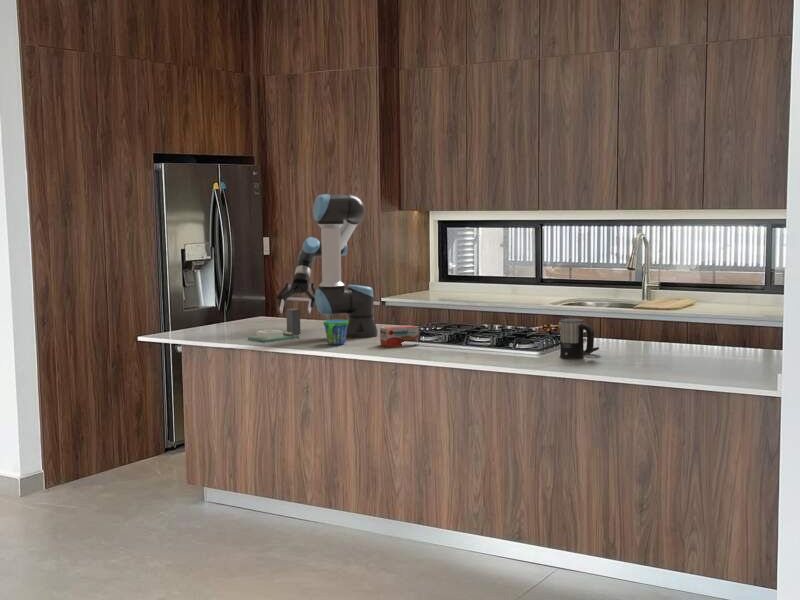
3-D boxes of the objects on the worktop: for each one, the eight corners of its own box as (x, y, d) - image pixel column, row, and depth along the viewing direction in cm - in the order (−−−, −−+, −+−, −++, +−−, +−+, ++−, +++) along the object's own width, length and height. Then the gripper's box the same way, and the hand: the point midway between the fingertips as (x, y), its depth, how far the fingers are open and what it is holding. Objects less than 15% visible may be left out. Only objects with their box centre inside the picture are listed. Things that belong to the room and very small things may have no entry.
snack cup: (339, 347, 407) (339, 323, 406) (317, 346, 411) (316, 322, 410) (354, 342, 421) (354, 319, 420) (333, 341, 425) (332, 318, 424)
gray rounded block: (300, 334, 446) (299, 309, 445) (292, 335, 443) (292, 310, 442) (294, 333, 450) (294, 308, 448) (286, 335, 447) (286, 309, 445)
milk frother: (557, 358, 372) (557, 320, 370) (565, 352, 387) (565, 316, 385) (594, 360, 367) (594, 322, 365) (600, 354, 381) (601, 317, 380)
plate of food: (584, 328, 457) (584, 316, 457) (598, 336, 430) (598, 323, 429) (526, 331, 456) (525, 319, 456) (536, 339, 429) (536, 326, 428)
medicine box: (412, 343, 418) (411, 324, 418) (419, 345, 411) (419, 327, 410) (379, 345, 412) (379, 326, 412) (387, 348, 405) (386, 329, 404)
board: (299, 338, 435) (298, 330, 434) (265, 342, 423) (265, 334, 422) (281, 335, 445) (280, 327, 445) (248, 339, 433) (247, 331, 433)
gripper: (328, 282, 465) (322, 316, 452) (278, 282, 469) (270, 316, 456) (325, 272, 459) (319, 306, 446) (275, 272, 463) (267, 306, 450)
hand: (294, 311), depth 451 cm, fingers open, 13 cm apart
